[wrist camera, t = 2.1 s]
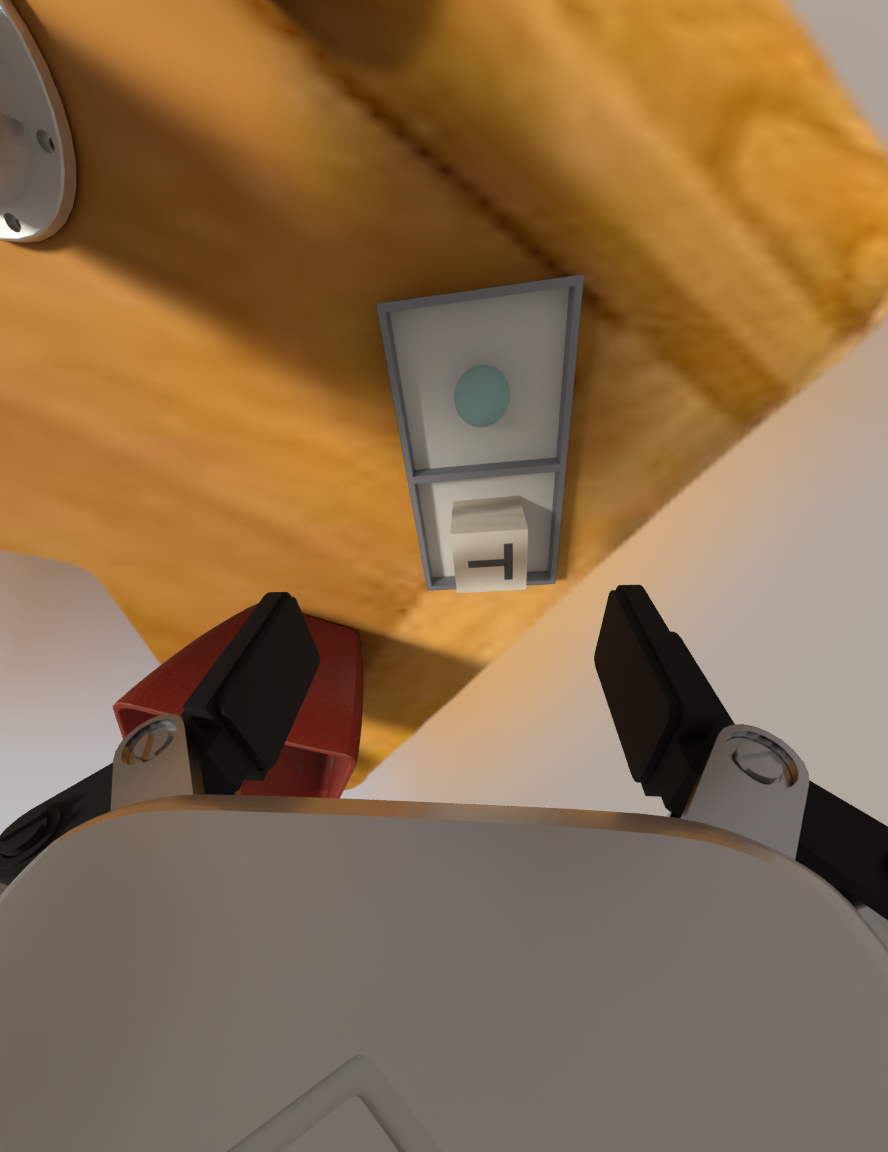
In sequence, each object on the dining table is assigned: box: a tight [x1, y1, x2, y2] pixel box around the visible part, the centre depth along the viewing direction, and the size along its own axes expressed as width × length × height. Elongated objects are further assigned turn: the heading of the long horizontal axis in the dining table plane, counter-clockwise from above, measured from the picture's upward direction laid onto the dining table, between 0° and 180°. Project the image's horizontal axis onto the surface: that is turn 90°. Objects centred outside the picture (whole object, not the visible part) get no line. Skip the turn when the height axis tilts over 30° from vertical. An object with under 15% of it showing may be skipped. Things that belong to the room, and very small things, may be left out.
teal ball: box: [454, 365, 510, 427], centre depth 26 cm, size 4×4×4 cm
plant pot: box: [113, 603, 363, 799], centre depth 40 cm, size 19×19×17 cm
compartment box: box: [376, 274, 584, 591], centre depth 30 cm, size 24×13×2 cm, turn 6°
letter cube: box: [450, 496, 528, 593], centre depth 32 cm, size 6×6×6 cm
